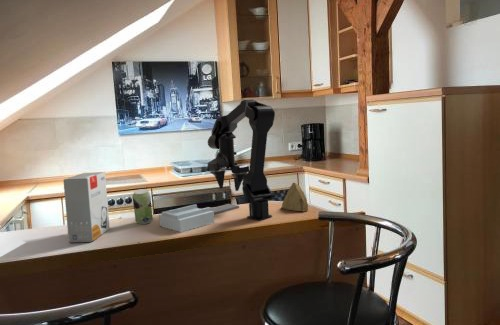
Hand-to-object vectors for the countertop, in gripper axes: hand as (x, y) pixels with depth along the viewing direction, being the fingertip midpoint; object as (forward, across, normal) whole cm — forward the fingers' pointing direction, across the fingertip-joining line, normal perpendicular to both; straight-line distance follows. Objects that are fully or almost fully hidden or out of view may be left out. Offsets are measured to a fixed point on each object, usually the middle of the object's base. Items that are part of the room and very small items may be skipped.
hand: (228, 189), depth 164 cm
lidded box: (+7, +6, -25) cm, 27 cm away
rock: (+8, +23, +12) cm, 27 cm away
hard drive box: (+8, -10, -52) cm, 53 cm away
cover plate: (+8, 0, -6) cm, 10 cm away
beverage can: (+8, -9, -33) cm, 35 cm away
